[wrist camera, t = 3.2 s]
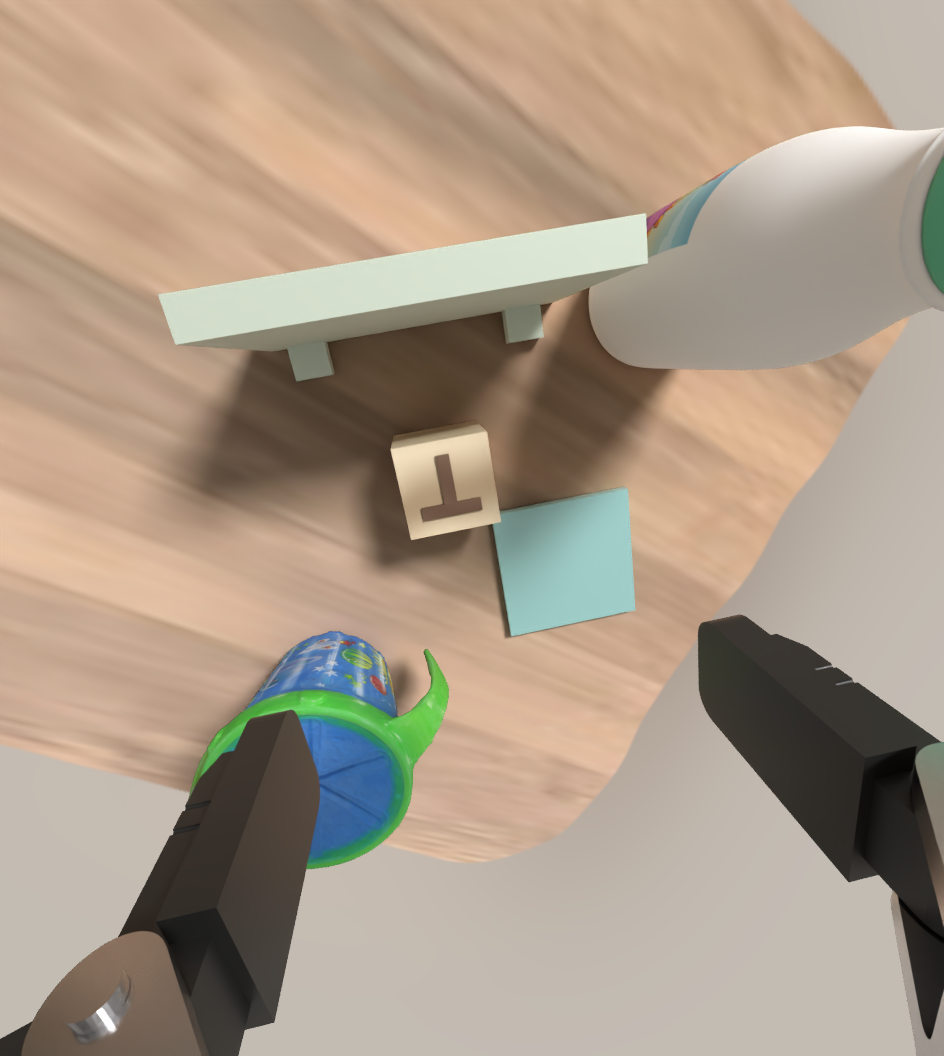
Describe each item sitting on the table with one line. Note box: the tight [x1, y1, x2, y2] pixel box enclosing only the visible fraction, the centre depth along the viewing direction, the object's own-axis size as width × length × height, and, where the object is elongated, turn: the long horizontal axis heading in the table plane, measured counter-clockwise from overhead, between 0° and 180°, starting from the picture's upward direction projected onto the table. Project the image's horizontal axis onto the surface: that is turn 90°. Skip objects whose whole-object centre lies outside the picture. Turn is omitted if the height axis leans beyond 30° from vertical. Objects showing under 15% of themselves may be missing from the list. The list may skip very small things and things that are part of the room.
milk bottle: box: [589, 126, 944, 370], centre depth 19 cm, size 8×8×20 cm
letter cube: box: [391, 421, 501, 540], centre depth 28 cm, size 5×5×5 cm
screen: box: [158, 213, 648, 381], centre depth 22 cm, size 5×16×12 cm, turn 100°
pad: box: [492, 487, 635, 636], centre depth 33 cm, size 9×9×1 cm
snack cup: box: [188, 631, 449, 869], centre depth 29 cm, size 16×11×10 cm
